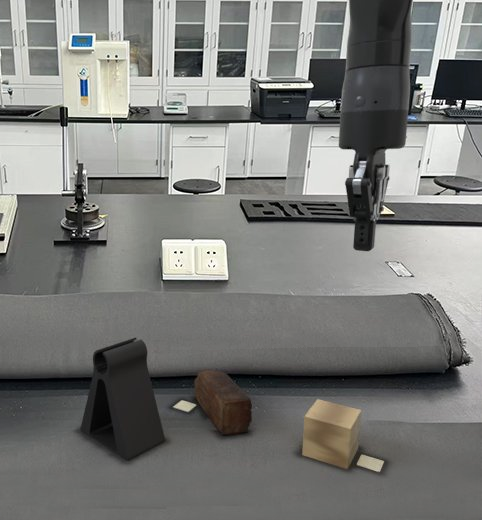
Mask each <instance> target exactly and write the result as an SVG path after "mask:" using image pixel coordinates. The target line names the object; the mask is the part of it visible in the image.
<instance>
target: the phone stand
mask: <svg viewBox="0 0 482 520" xmlns="http://www.w3.org/2000/svg"><path fill="white" fill-rule="evenodd" d="M92 365H93V371H92V372H93V373H92V378H91V382H90V386H89V390H88V395H87V399H86V402H85V408H84V412H83V416H82V419H81V421H82V422H81V425H80V428H79V429H80V432H81V433H83V434H85V435H86V436H88V437H89V438H91V439H92V440H94V441H95V442H97V443H98V444H100V445H101V446H103V447H105V448H107V449H108V450H109V451H111V452H112V453H114V454H116V455H118V456H119V457H121V459H124V460H125V461H126V462H129V461H130V460H132V459H134V458H136V457H138V456H139V455H141V454H143V453H145V452H147V451H149V450H151V449H152V448H155V447H157V446H159V445H160V444H162V443H164V442H166V437H165V433H164V429H163V426H162V425H163V424H162V421H161V417H160V413H159V409H158V405H157V400H156V397H155V392H154V388H153V384H152V379H151V376H150V372H149V368H148V348H147V345H146V343H145V342H144V340H143V339H142V338H140V339H137V337H133V338H129V339H126V340H124V341H121V342H117V343H115V344H112V345H108V346H106V347H102V348H99V349H96V350H95V351H94V352H93V355H92Z"/></svg>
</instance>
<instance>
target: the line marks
mask: <svg viewBox="0 0 482 520" xmlns="http://www.w3.org/2000/svg"><path fill="white" fill-rule="evenodd" d="M195 407H197V404H196V403H192V402H189V401H186V400H183V399H182V400H180V401H179V402H177V403H176V404H175V405H174V406H172V408H174V409H177V410H179V411H183V412H185V413H189V412H190V411H192V410H193V409H195ZM384 463H385V461H384V460H381V459H378V458H375V457H372V456H368V455H365V454H360V457H359V459H358V460H357V463H356V466H358V467H362V468H365V469H368V470H371V471H374V472H377V473H380V472H381V470H382V468H383V466H384Z"/></svg>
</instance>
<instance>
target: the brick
mask: <svg viewBox="0 0 482 520" xmlns="http://www.w3.org/2000/svg"><path fill="white" fill-rule="evenodd" d="M196 376H197V377H195V379H194V382H193V383H194V384H193V385H194V389H193V390H194V396H195V399H196V401H197V402H198V404H199V406H200V407H201V408H202V410H203V411H204V413H205V414H206V415H207V416H208V418H209V420H210V421H211V423H212V424H213V425H214V427H215V428H216V429H217V430H218V433H220V434H221V436H231V435H239V434H246V433H248V431H249V427H250V424H251V423H252V420H253V417H252V412H253V411H252V409H253V404H252V400H251V398H250V396H249V395H248V394H247V393H246V392H244V390H243V389H242V388H241V387H240V386H239V385H238V384H237V383H236V382H235V381H234V380H233V379H232V378H231V377H230V375H228V374H227V373H226V372H224V371H220V370H210V369H206V370H205V369H204V370H201V371H198V372H197V375H196Z"/></svg>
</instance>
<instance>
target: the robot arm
mask: <svg viewBox="0 0 482 520" xmlns="http://www.w3.org/2000/svg"><path fill="white" fill-rule="evenodd" d="M413 2H414V0H348V6H349V7H348V8H349V9H348V12H349V26H348V35H347V40H346V41H347V42H346V54H345V55H346V58H345V72H344V79H343V84H342V89H341V99H340V100H341V101H340V102H341V103H340V114H339V115H340V116H339V130H338V131H339V132H338V147H339V149H340V150H353V151H354V152H355V153H354V157H353V162H352V164H350V165H349V168H348V177H346V179H345V181H344V185H345V191H346V197H347V198H346V199H347V205H348V213H349V218H352V220H353V221H354V230H353V231H354V232H353V244H352V247H353V250H355V251H358V252H359V251H360V252H370V251H372V249H374V248H375V243H376V242H375V240H376V229H377V221H378V220H379V218H380V215H381V214H382V212H383V210H384V209H383V208H384V202H385V198H386V193H387V190H388V189H387V188H388V185H389V181H390V168H391V167H390V164H386V151H387V150H400V149H403V148H404V147H405V146H406V142H407V133H408V132H407V129H408V120H409V107H410V106H409V105H410V95H411V79H410V76H411V75H410V68H411V67H410V66H411V58H412V56H411V55H412V45H413V44H412V43H413V22H412V11H413V10H412V8H413Z"/></svg>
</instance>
